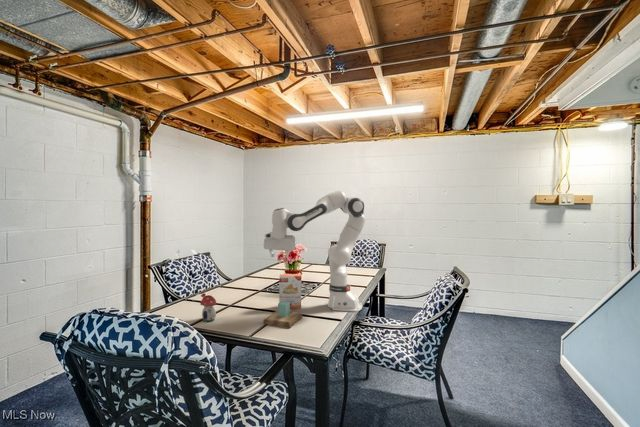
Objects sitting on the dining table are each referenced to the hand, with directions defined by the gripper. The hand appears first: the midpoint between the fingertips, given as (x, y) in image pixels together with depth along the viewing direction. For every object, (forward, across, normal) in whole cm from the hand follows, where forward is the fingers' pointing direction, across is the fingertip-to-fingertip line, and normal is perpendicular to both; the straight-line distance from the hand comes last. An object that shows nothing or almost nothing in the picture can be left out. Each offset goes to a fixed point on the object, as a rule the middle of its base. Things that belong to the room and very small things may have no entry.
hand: (279, 257), depth 184 cm
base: (+34, -9, +12) cm, 37 cm away
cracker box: (+34, -3, -9) cm, 35 cm away
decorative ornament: (+34, +32, +26) cm, 53 cm away
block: (+31, -9, +12) cm, 34 cm away
